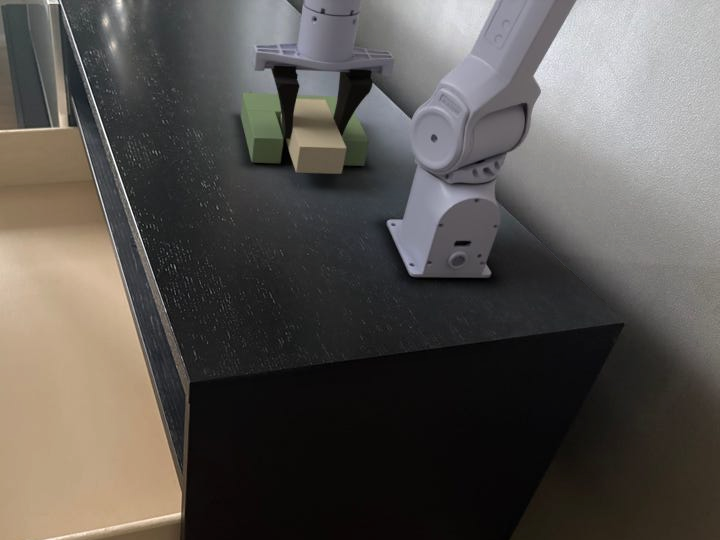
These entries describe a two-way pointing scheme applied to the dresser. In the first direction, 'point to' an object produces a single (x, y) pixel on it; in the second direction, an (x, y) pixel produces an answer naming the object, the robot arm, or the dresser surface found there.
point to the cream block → (315, 139)
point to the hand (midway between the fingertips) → (311, 135)
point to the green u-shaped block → (267, 132)
